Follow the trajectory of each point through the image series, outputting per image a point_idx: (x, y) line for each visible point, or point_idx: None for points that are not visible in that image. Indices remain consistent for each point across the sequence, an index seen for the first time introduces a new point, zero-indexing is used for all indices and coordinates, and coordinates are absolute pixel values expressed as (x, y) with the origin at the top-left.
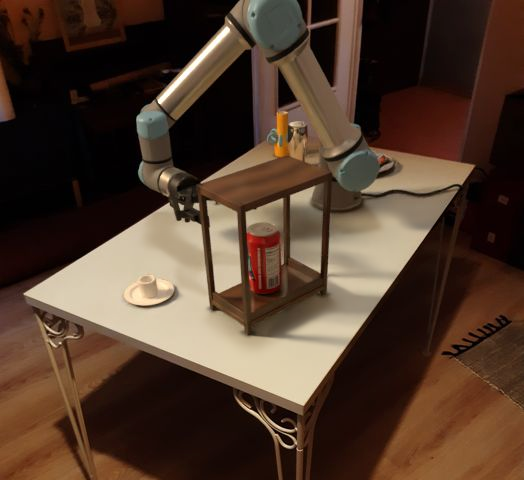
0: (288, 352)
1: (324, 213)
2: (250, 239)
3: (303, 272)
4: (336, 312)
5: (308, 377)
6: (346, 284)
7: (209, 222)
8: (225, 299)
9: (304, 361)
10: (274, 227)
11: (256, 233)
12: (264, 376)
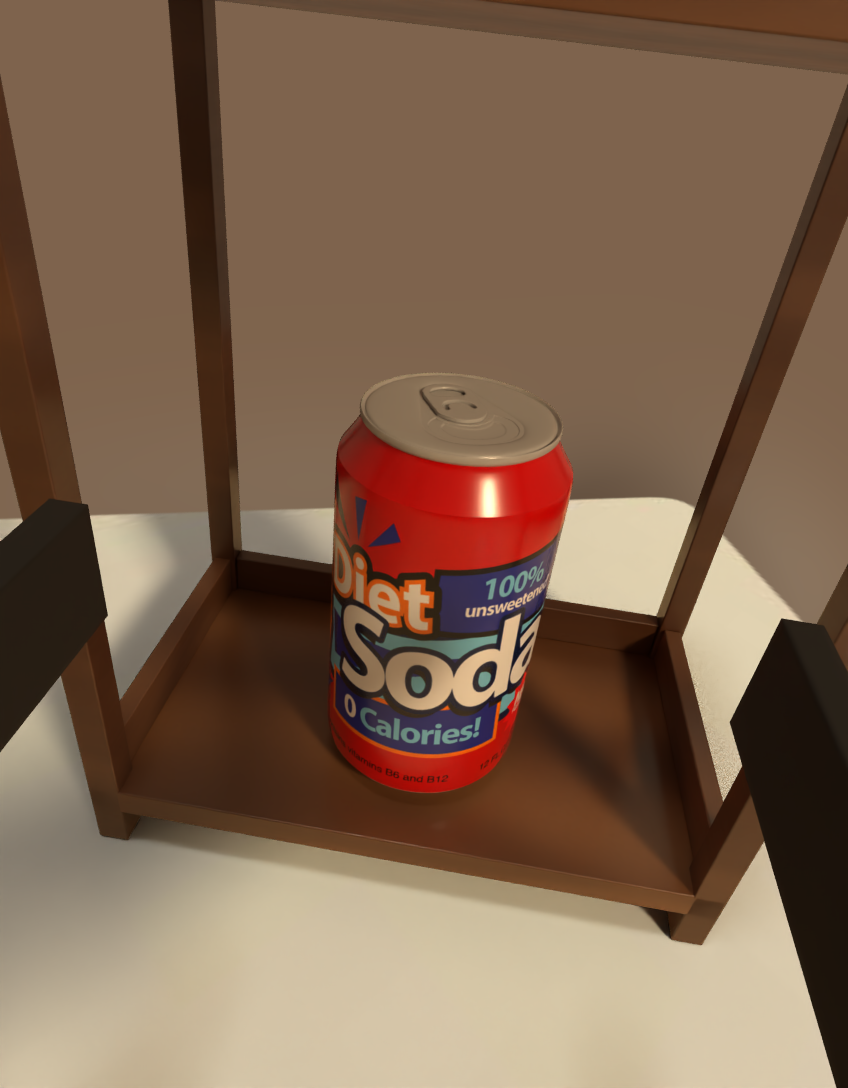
0: (594, 572)
1: (220, 228)
2: (567, 459)
3: (187, 659)
4: (319, 560)
5: (618, 513)
6: (109, 598)
7: (751, 680)
8: (698, 740)
9: (584, 536)
10: (399, 385)
11: (538, 411)
12: (717, 571)
